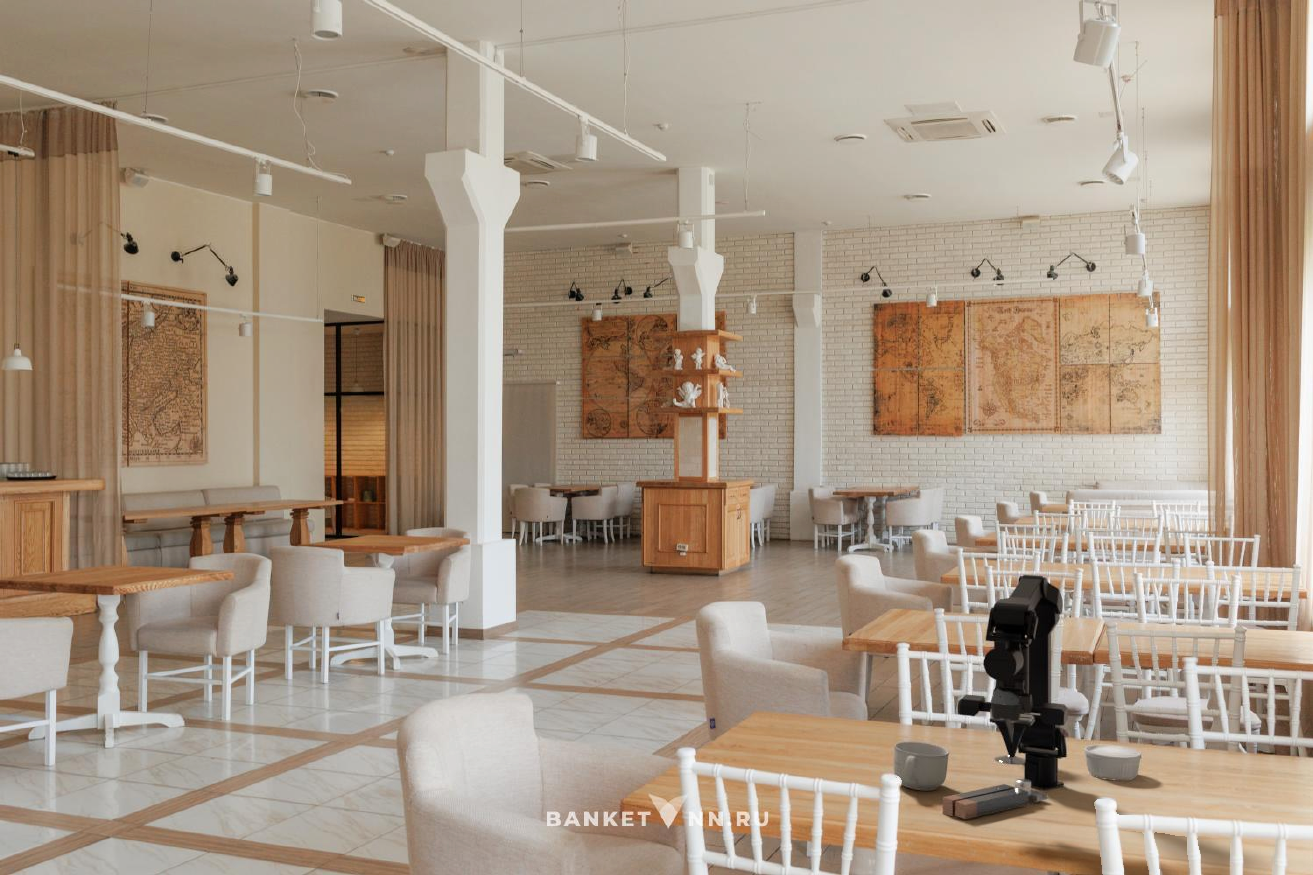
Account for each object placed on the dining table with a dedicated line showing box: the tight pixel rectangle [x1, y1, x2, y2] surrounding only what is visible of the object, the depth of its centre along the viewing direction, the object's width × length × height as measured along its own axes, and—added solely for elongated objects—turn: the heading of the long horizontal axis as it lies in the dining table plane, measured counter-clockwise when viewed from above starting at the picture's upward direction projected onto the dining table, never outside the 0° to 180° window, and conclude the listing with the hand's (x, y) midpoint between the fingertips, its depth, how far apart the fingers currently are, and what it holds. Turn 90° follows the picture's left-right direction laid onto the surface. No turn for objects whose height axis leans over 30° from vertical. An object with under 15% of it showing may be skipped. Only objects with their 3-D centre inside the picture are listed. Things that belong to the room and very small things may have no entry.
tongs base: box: [942, 778, 1048, 818], centre depth 218 cm, size 23×5×4 cm, turn 123°
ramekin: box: [1083, 744, 1142, 781], centre depth 242 cm, size 11×11×5 cm
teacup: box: [893, 741, 950, 792], centre depth 230 cm, size 14×11×8 cm
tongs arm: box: [954, 788, 1029, 820], centre depth 215 cm, size 17×2×3 cm, turn 122°
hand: (1012, 756), depth 210 cm, fingers closed
